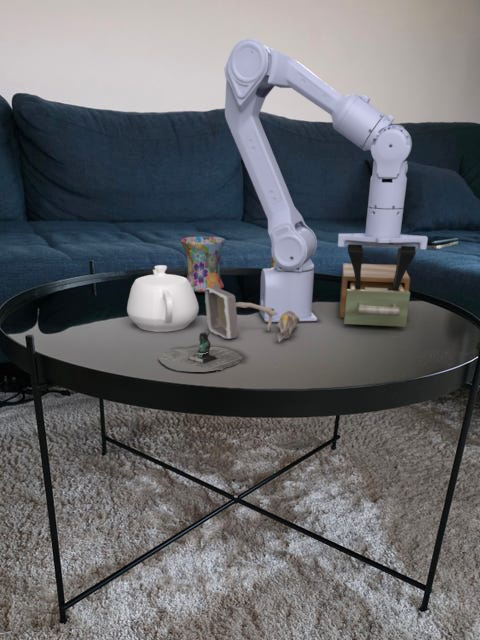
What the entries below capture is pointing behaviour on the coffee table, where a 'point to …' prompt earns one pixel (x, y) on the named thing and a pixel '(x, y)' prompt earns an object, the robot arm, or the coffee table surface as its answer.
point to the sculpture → (204, 355)
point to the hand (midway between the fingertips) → (376, 290)
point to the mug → (203, 262)
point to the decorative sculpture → (225, 314)
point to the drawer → (376, 305)
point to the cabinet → (369, 278)
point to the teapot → (162, 302)
